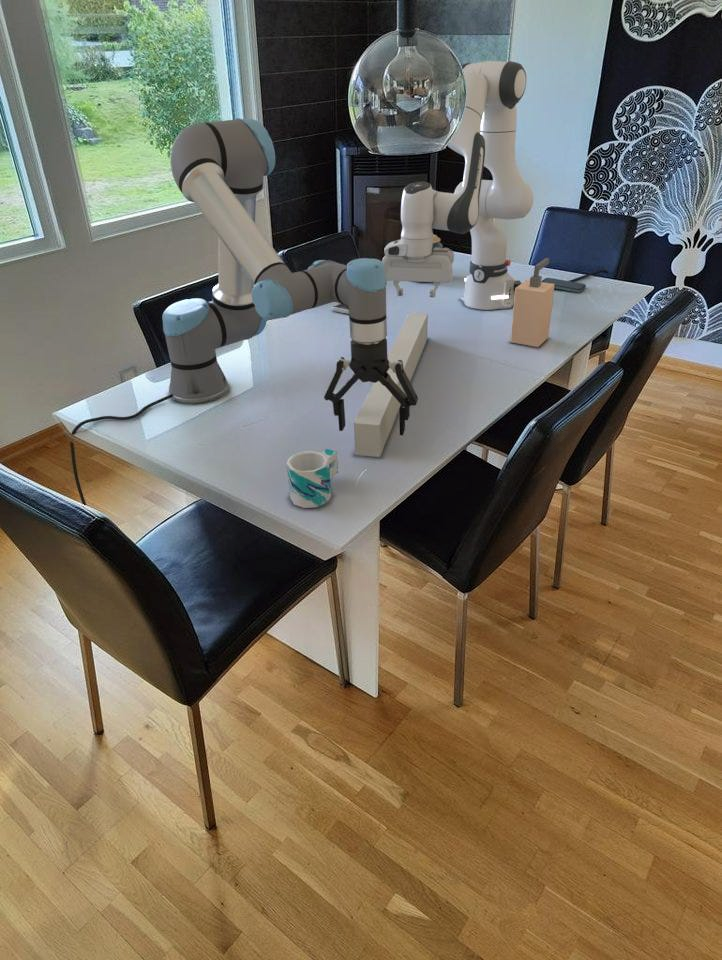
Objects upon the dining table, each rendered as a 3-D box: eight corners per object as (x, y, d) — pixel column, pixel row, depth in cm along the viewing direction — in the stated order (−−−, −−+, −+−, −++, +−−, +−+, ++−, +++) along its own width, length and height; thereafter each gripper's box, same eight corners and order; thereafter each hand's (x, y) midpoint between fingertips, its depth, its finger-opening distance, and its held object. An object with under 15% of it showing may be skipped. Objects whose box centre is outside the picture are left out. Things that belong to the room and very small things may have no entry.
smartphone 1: (374, 298, 234) (349, 310, 224) (374, 302, 235) (349, 314, 224) (356, 295, 238) (331, 307, 227) (356, 298, 238) (331, 310, 228)
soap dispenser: (538, 347, 195) (546, 271, 183) (510, 342, 199) (517, 267, 187) (552, 333, 204) (562, 259, 192) (525, 328, 208) (533, 256, 196)
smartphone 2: (580, 289, 234) (539, 282, 241) (579, 294, 235) (538, 286, 242) (587, 283, 240) (546, 276, 246) (586, 288, 240) (545, 281, 247)
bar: (379, 457, 146) (379, 425, 142) (355, 455, 147) (353, 422, 143) (427, 338, 204) (427, 313, 200) (409, 337, 205) (409, 312, 201)
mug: (282, 500, 133) (278, 464, 129) (317, 472, 142) (314, 437, 137) (316, 512, 129) (313, 475, 125) (350, 482, 138) (348, 447, 133)
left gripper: (431, 334, 137) (430, 426, 149) (315, 329, 143) (322, 418, 154) (426, 348, 131) (425, 442, 143) (304, 342, 136) (313, 434, 148)
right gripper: (455, 244, 186) (453, 294, 193) (383, 243, 190) (384, 291, 198) (453, 250, 181) (451, 301, 188) (378, 248, 185) (379, 298, 193)
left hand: (372, 430), depth 148 cm, fingers open, 13 cm apart
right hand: (416, 296), depth 193 cm, fingers open, 8 cm apart
